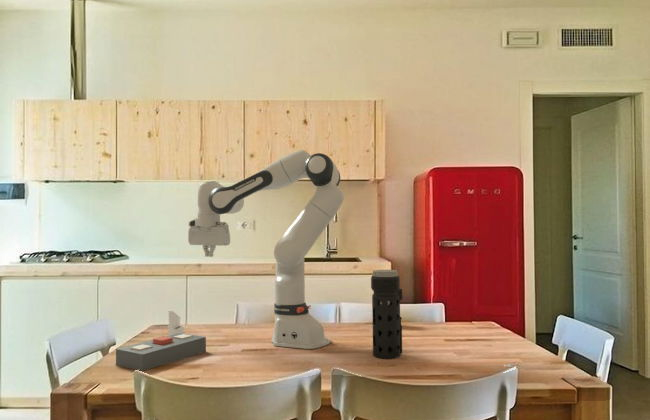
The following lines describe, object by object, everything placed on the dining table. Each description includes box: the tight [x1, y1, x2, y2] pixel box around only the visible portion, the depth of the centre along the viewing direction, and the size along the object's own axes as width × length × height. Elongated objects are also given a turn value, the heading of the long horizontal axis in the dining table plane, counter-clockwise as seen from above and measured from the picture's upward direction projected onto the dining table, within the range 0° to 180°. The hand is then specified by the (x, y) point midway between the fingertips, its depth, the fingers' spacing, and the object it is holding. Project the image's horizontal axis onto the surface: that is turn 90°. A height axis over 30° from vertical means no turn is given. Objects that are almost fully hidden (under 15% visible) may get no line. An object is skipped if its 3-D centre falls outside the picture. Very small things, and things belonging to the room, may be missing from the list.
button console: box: [115, 332, 207, 372], centre depth 164 cm, size 13×26×5 cm, turn 148°
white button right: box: [173, 333, 193, 340], centre depth 172 cm, size 4×4×5 cm
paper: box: [453, 354, 521, 369], centre depth 154 cm, size 25×17×1 cm
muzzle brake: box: [370, 269, 403, 360], centre depth 165 cm, size 10×28×10 cm
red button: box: [152, 335, 173, 345], centre depth 164 cm, size 4×4×5 cm
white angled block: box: [168, 310, 185, 336], centre depth 196 cm, size 4×10×9 cm
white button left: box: [131, 344, 152, 351], centre depth 157 cm, size 4×4×5 cm
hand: (209, 256), depth 198 cm, fingers closed
